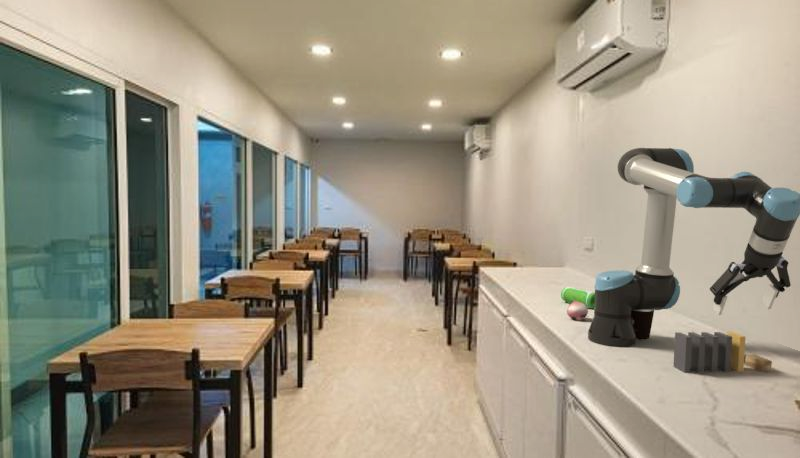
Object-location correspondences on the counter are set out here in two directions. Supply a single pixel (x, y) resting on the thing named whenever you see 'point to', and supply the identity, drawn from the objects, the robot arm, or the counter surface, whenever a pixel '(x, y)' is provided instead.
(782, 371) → the counter surface
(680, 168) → the robot arm
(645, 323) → the coffee mug
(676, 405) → the counter surface
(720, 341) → the domino
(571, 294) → the speaker
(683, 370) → the domino
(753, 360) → the block
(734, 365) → the domino
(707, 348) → the domino
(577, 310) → the onion
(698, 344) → the domino
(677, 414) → the counter surface
